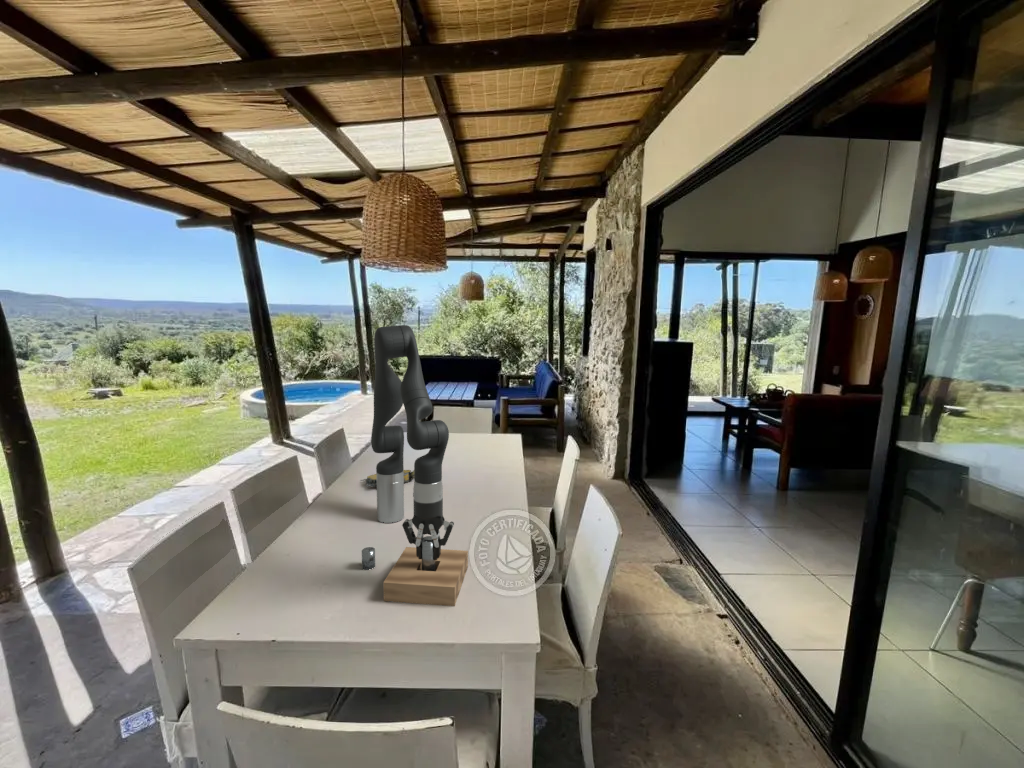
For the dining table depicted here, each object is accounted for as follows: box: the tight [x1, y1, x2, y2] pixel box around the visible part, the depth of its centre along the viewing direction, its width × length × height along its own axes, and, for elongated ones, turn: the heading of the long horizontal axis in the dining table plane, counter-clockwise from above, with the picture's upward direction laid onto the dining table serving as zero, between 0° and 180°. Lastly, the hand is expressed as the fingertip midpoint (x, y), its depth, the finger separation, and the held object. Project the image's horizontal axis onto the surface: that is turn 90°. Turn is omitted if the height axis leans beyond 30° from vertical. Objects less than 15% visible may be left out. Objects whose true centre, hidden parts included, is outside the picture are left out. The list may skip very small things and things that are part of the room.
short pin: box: [361, 546, 376, 571], centre depth 127 cm, size 4×4×5 cm
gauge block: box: [382, 546, 469, 607], centre depth 120 cm, size 18×18×5 cm
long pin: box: [422, 535, 435, 571], centre depth 119 cm, size 4×4×11 cm
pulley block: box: [359, 469, 414, 488], centre depth 195 cm, size 14×6×30 cm
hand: (428, 557), depth 119 cm, fingers closed on long pin, 3 cm apart
